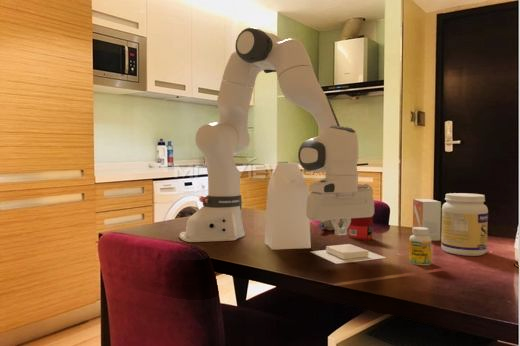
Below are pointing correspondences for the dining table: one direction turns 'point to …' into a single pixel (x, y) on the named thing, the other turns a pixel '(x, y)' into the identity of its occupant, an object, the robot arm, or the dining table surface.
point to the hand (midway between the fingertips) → (340, 234)
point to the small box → (427, 216)
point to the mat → (339, 260)
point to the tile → (347, 251)
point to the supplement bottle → (420, 246)
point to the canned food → (361, 228)
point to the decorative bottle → (328, 224)
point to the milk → (287, 209)
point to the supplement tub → (464, 224)
